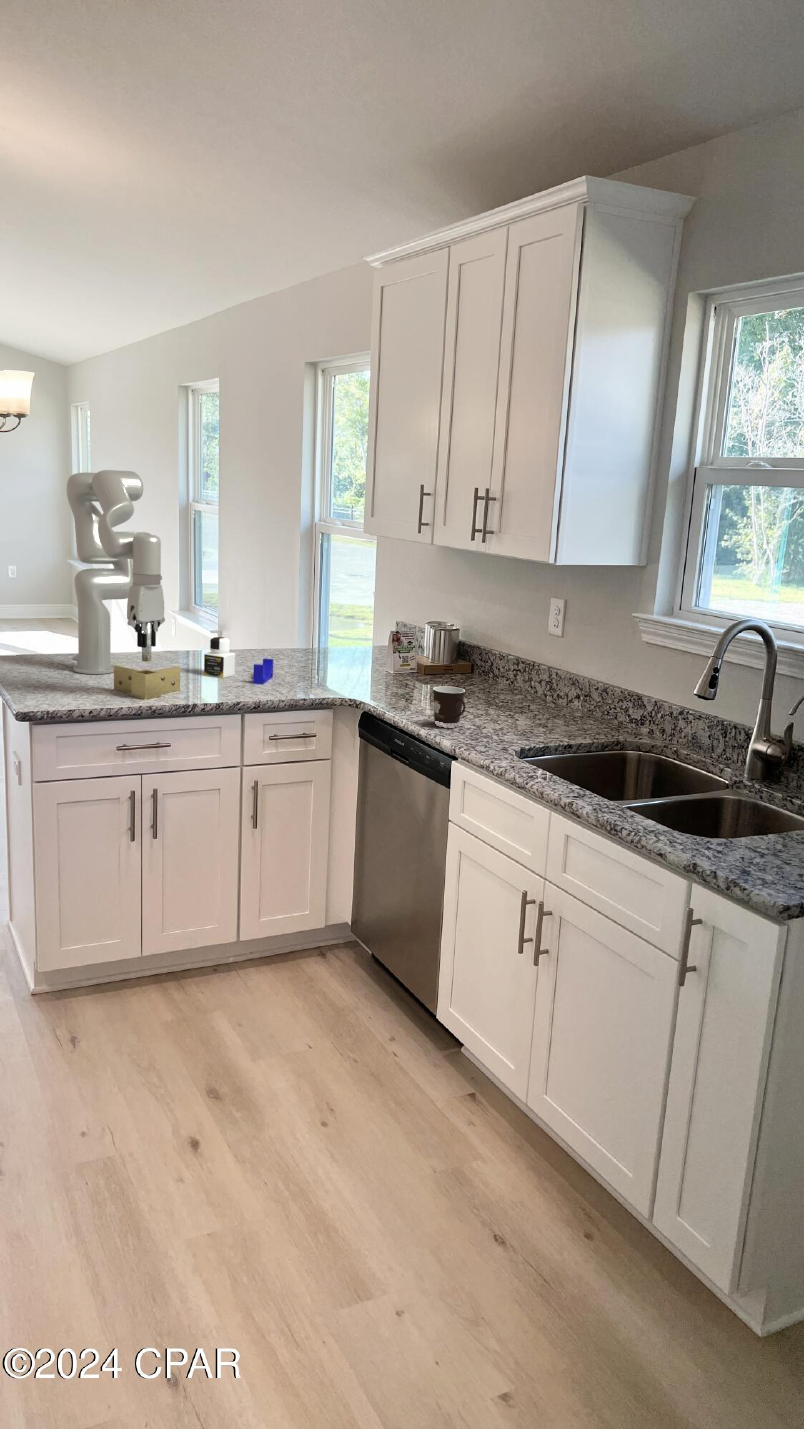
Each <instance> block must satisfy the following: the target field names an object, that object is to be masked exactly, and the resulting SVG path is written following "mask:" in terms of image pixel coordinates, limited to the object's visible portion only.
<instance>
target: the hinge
mask: <svg viewBox="0 0 804 1429" xmlns="http://www.w3.org/2000/svg"><path fill="white" fill-rule="evenodd" d="M113 666H114V672H113V690H114V689H116V690H115V691H118V690H119V692H123V691H124V692H123V693H127V692H128V694H130V695H131V697H132V696H135V697H134V698H136V697H138V698H137V699H141V700H144V699H147V700H151V699H156V698H155V697H157V698H161V695H163V694H165V695H166V694H169V692H170V693H174V692H173V691H176V692H181V667H180V666H176V667H175V666H174V667H168V668H162V669H157V670H151V669H141V670H138V669H135V668H130V667H125V666H120V665H117V664H116V665H113Z"/></svg>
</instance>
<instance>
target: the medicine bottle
mask: <svg viewBox="0 0 804 1429" xmlns="http://www.w3.org/2000/svg"><path fill="white" fill-rule="evenodd" d="M209 642H210V644H209V645H210V646H209V648H210V651H209V652H205V653H204V655H203V660H204V661H203V662H204V664H203V676H205V677H211V678H217V679H225V678H229V677H231V676H235V674H236V653H235V652H230V650H231V648H230V645H231V640H230V638H228V637H225V636H216V637H215V636H214V637H212V638H210V641H209Z"/></svg>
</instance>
